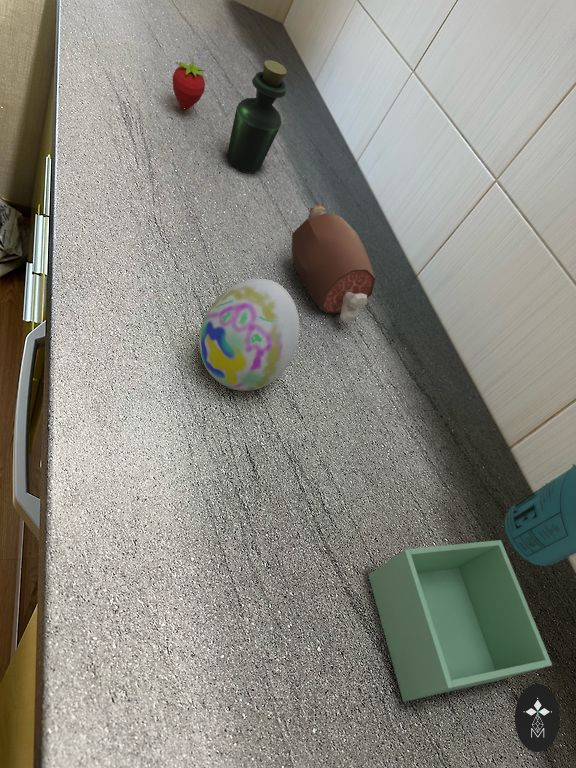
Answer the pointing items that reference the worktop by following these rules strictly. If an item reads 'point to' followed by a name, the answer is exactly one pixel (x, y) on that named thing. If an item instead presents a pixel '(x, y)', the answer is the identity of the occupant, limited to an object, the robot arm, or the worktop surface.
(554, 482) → the beverage bottle
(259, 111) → the potion bottle
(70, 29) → the worktop surface
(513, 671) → the bin
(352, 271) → the meat
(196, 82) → the strawberry
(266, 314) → the decorative egg
